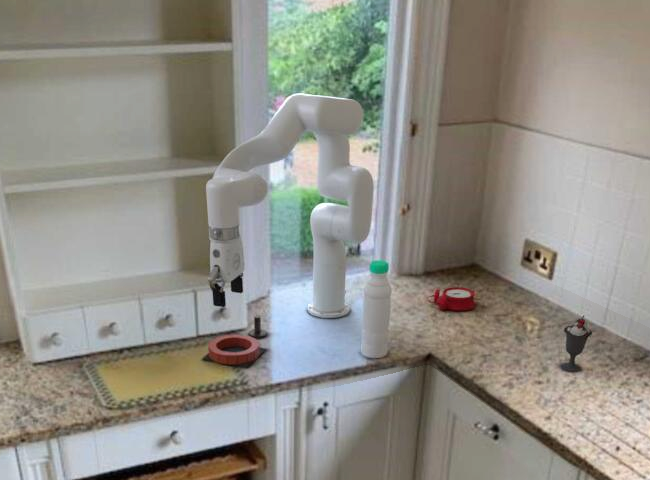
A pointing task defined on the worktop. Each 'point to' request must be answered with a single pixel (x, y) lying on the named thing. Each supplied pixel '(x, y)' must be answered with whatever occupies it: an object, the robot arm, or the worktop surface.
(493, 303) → the worktop surface
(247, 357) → the ring
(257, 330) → the peg stand
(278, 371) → the worktop surface
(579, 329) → the sundae
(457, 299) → the alarm clock
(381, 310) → the water bottle
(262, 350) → the mat
